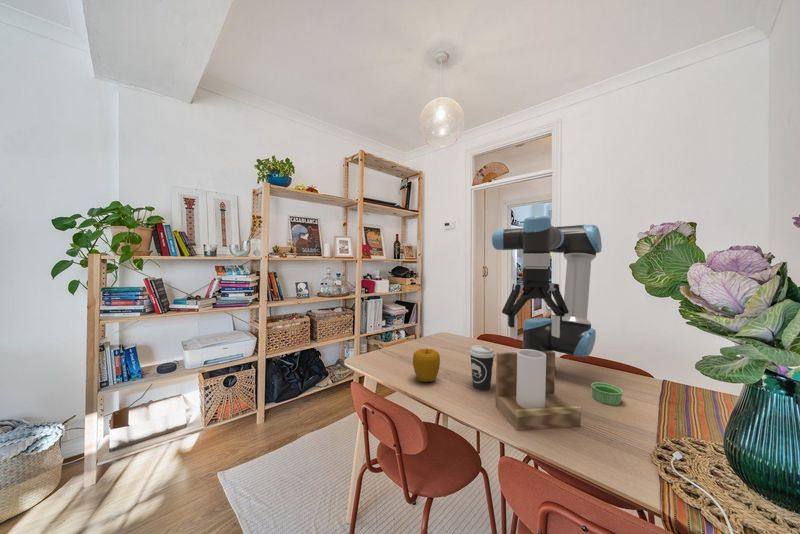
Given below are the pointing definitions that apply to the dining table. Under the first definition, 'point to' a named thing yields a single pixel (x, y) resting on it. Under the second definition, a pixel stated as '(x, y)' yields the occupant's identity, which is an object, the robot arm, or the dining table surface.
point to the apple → (426, 364)
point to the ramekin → (606, 393)
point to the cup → (531, 379)
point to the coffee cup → (481, 366)
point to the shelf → (527, 419)
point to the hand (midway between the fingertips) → (534, 337)
